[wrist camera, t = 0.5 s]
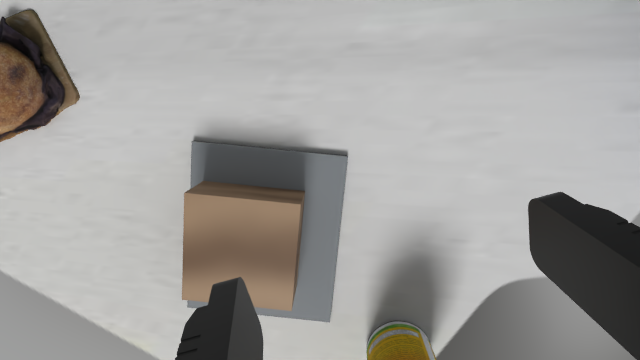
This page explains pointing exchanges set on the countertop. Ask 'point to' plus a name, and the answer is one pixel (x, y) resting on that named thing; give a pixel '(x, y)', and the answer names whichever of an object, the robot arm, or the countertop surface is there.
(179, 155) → the countertop surface
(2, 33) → the bread roll
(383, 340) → the supplement bottle
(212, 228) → the walnut block
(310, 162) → the mat
